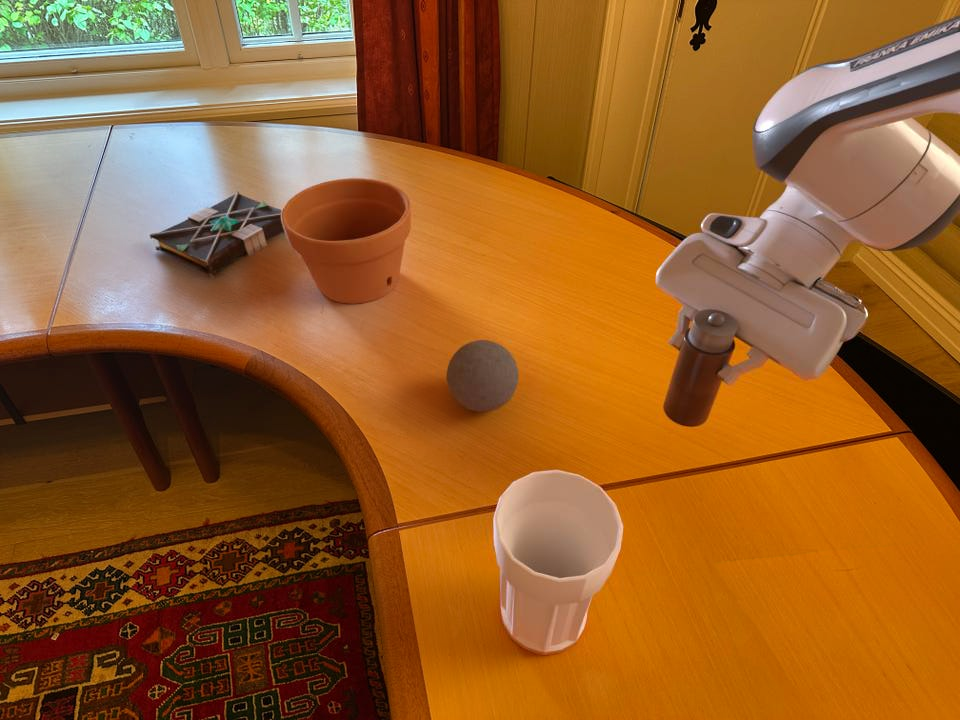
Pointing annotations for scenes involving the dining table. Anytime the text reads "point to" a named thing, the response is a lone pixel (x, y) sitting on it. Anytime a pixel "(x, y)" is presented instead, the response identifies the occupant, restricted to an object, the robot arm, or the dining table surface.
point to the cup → (553, 556)
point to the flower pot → (350, 236)
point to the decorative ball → (482, 376)
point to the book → (221, 233)
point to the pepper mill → (700, 367)
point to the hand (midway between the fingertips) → (697, 364)
